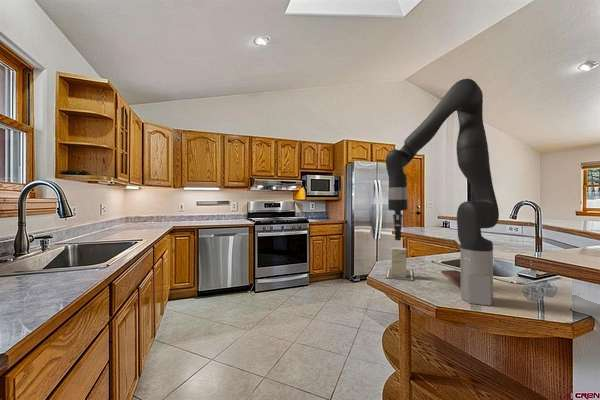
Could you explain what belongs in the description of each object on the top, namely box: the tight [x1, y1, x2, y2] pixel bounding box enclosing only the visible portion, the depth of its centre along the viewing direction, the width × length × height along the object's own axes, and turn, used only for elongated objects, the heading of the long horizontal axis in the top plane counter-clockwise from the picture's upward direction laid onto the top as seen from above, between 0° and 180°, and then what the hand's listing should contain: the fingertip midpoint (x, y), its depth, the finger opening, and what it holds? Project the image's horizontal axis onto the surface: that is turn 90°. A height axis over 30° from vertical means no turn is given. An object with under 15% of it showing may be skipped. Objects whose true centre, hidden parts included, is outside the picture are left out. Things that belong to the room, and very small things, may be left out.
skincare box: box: [390, 246, 407, 278], centre depth 120 cm, size 6×4×12 cm
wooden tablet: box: [440, 269, 461, 289], centre depth 117 cm, size 26×2×10 cm
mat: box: [385, 268, 415, 282], centre depth 123 cm, size 16×11×1 cm
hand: (398, 238), depth 113 cm, fingers open, 6 cm apart
